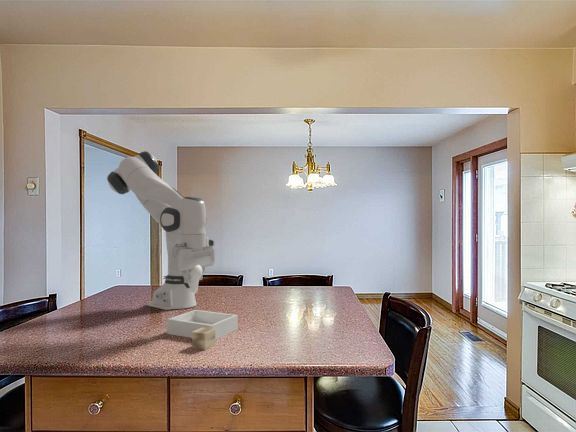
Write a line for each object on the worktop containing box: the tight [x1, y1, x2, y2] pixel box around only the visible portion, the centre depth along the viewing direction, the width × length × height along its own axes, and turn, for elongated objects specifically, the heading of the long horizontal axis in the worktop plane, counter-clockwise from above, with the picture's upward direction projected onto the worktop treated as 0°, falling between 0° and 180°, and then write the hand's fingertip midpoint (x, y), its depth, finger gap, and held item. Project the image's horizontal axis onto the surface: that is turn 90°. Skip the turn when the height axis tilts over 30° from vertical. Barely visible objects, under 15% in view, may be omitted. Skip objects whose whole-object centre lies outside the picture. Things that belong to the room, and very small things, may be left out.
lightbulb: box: [188, 265, 202, 295], centre depth 134 cm, size 6×6×11 cm
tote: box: [166, 309, 239, 341], centre depth 132 cm, size 19×15×5 cm
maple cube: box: [191, 328, 216, 351], centre depth 117 cm, size 5×5×5 cm
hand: (193, 281), depth 134 cm, fingers closed on lightbulb, 5 cm apart
